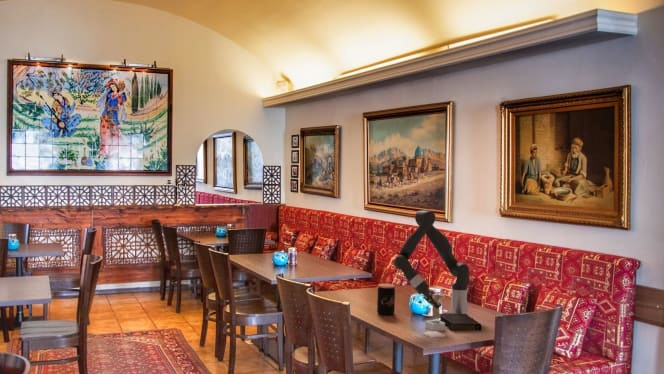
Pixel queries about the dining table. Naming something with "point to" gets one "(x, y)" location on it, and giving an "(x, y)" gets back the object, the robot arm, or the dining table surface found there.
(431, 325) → the socket block
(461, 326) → the diary
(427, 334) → the ceramic pad
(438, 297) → the crook peg
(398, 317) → the dining table surface
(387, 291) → the coffee jar
